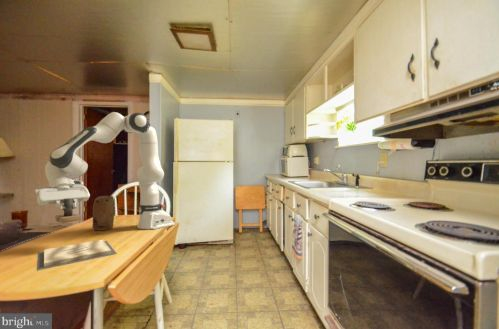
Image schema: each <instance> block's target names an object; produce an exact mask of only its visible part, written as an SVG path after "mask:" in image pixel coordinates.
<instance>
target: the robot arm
mask: <svg viewBox="0 0 499 329" xmlns="http://www.w3.org/2000/svg"><path fill="white" fill-rule="evenodd" d="M122 131H123V132H125V133H128V134H133V133H135V134H136V135H137V137H138V152H139V157H140V160H141V165H142V166H141V167H139V168H138V169H137V171H136V176H137V179H138V185H139V186H138V187H139V194H140V195H139V196H140V197H139V198H140V199H139V200H140V203H139V205H138V206H139V207H138V208H139V210H138V212H139V217H138V223H137V228H138V229H140V230H141V229H143V230H157V229H162V228H167V227H171V226H172V227H173V226H174V225H175V222H174V221H173V220H172V217H171V215H170V214H169V213H168V212H167V211H165V210H164V209H163V208H165V204H161V203H160V190H159V188H158V185H157V183H159V182H161V181H162V180H163V179H164V176H165V172H164V170H163V168H162V163H161V161H160V156H159V144H158V135H157V131H156V129H155V128H154V127H152V126H151V124H150V122H149V120H148V117H147V116H146V115H145V114H144V113H142V112H133V113H129V114H128V115H125V116H124V115H122V114H121V113H119V112H115V111H112V112H110V113H108V114H107V115H106V116H105V117H103V118H102V119H101V120H100V121H99V122H98V123H97V124H96V125H94V126H88V127H85V128H84V129H83V130H81V131H79V132H78V133H77V134H76V135H74V136H73V137H71V139H69V140H68V141H66V142H65V143H64V144H63V145H60V146H59V147H57V148H55V149H54V150H53V151H51V153H50V155H49V161H48V162H47V163H46V164H45V166H44V172H45V176H46V179H47V181H48V186H47V187H38V188H36V189H35V190H34V193H35V196H37V199H36V201H37V204H38V205H39V206H50V205H54V206H56V207H57V208H59V210H60V211H64V210H65V205H64V199H69V198H72V199H73V206H72V210H75V209H77V203H78V202H80V203H81V202H87V201H89V198H90V197H91V194H90V192H89V189H88V188H87V187H86V186H85V185H84V182H83V181H82V180H76V178H79V177H81V176H83V175H85V174H86V173H87V171H88V169H89V168H88V167H89V165H88V162H87V161H85V159H83V158H81V157H80V156H78V155H77V154H76V153H77V151H78V150H79V149H81V148H82V147H83V146H85V145H86V144H87V143H89V142H91V141H94V142H98V143H101V144H108V143H112V141H113V140H115V138H116V137H117V136H118V135H119V134H120V132H122Z"/></svg>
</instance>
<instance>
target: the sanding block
mask: <svg viewBox="0 0 499 329" xmlns="http://www.w3.org/2000/svg"><path fill="white" fill-rule="evenodd" d="M63 205H65V210H63V214H58V215H55V216H54V217H55V220H54V221H55V222H56V223H60V224H62V225H66V224H72V223H79V222H82V216H81V215H80V214H77V213H73V209H72V206H73V199H72V198H69V199H64V203H63Z"/></svg>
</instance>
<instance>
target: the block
mask: <svg viewBox="0 0 499 329" xmlns="http://www.w3.org/2000/svg"><path fill="white" fill-rule="evenodd" d="M114 217H115V199H114V196H113V195H109V196H108V195H100V196H97V197H96V198H95V199H94V202H93V205H92V230H93V231H109V230H112V229H113V227H114V221H115V220H114V219H115V218H114Z"/></svg>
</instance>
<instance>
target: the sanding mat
mask: <svg viewBox="0 0 499 329" xmlns="http://www.w3.org/2000/svg"><path fill="white" fill-rule="evenodd" d="M104 242H105V243H106V244H107V246H108V247H109V248H110V250H111V254H106V255H101V256H97V257H92V258H87V259H82V260H77V261H72V262H67V263H62V264H57V265H52V266H48V267H44V251H39V252H38V253H37V263H36V264H37V266H36V271H42V270H46V269H50V268H52V269H53V268H56V267H61V266H65V265H70V264H75V263H80V262H85V261H90V260H95V259H101V258H104V257H109V256H113V255H118V253H117V252H116V250H115V249H114V248H113V247H112V245H110V243H109V242H108V241H107V240H104Z"/></svg>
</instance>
